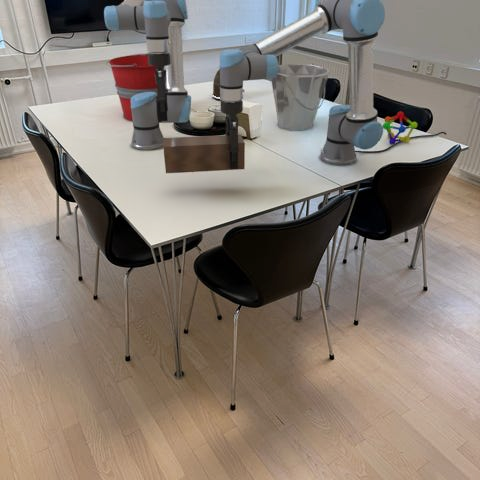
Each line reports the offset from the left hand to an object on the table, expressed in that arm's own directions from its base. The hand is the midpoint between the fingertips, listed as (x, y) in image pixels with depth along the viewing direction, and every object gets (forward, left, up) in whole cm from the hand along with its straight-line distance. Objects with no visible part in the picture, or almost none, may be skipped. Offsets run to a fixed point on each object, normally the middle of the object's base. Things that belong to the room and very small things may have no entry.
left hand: (164, 115), depth 160 cm
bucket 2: (-77, +48, -25) cm, 94 cm away
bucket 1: (-84, -35, -25) cm, 94 cm away
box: (+9, +16, -15) cm, 24 cm away
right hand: (+6, +26, -14) cm, 30 cm away
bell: (-129, +4, -25) cm, 131 cm away
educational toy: (-55, +96, -25) cm, 114 cm away
